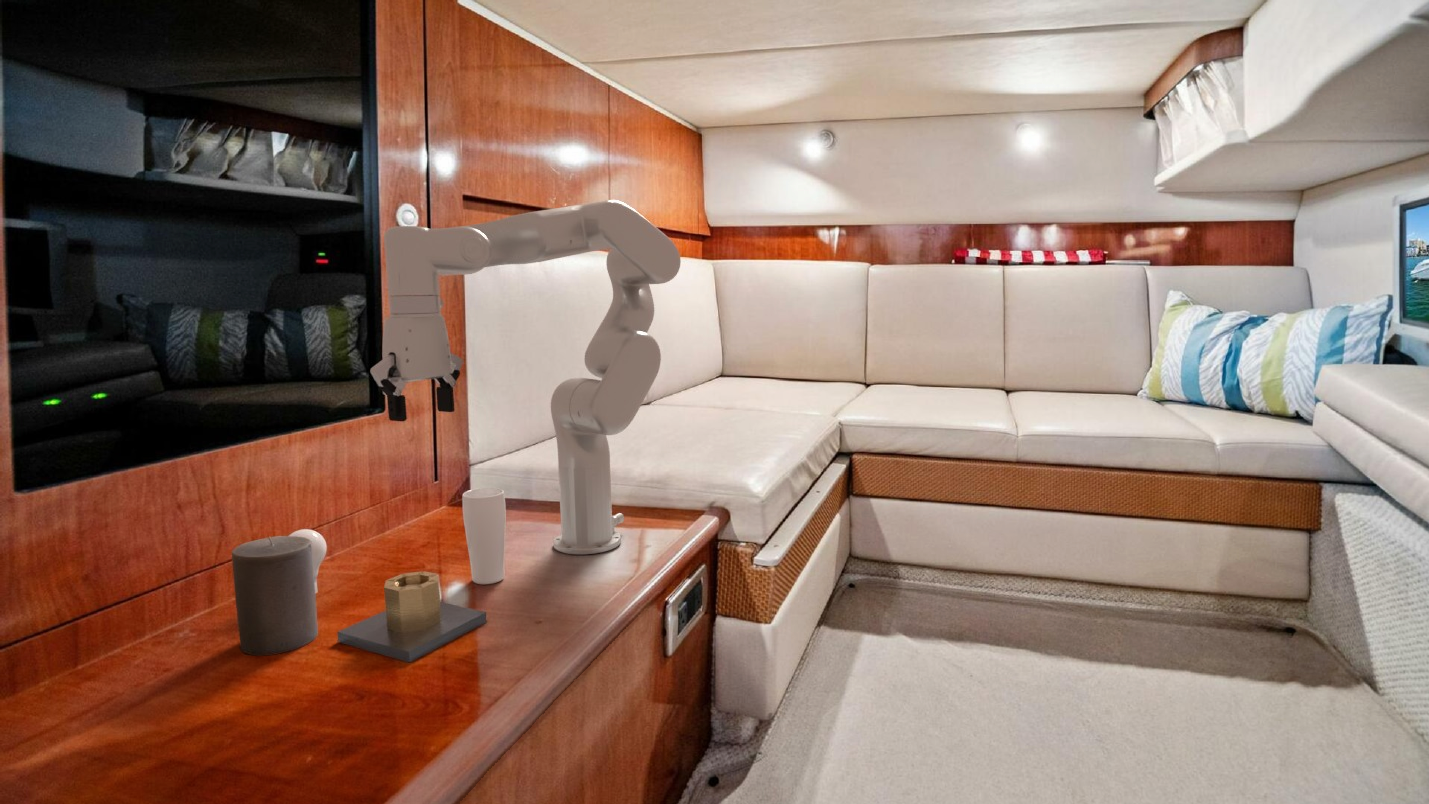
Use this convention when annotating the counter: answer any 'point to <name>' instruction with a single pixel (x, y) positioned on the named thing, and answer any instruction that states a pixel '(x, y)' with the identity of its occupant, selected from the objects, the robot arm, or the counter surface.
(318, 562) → the lightbulb
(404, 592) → the hub ring
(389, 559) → the counter surface
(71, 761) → the counter surface
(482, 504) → the drinking glass
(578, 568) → the counter surface
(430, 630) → the shaft block
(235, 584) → the pillar candle
